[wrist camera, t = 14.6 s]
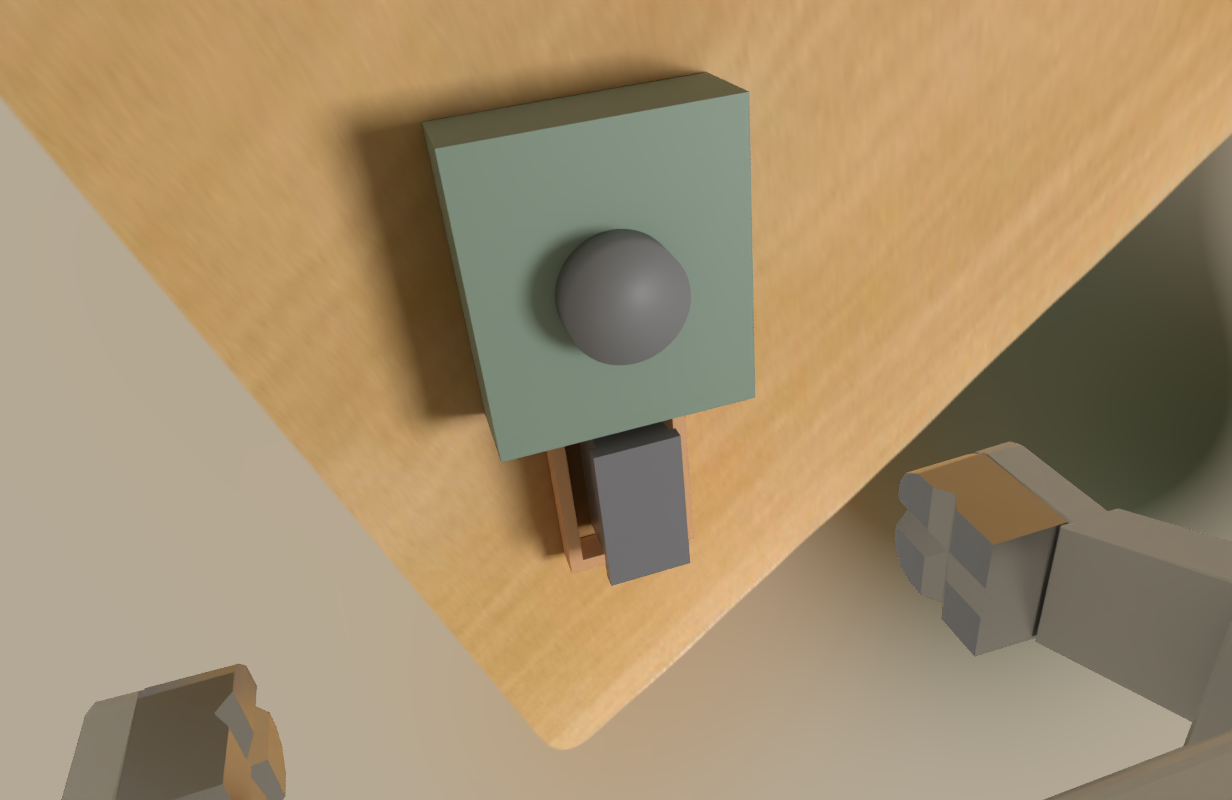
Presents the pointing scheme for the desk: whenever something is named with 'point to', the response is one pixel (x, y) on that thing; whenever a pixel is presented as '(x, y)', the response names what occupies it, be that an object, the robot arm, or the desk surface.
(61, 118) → the desk surface
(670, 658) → the desk surface
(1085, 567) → the robot arm
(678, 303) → the green panel with knob
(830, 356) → the desk surface
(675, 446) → the grey stepped block
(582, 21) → the desk surface
